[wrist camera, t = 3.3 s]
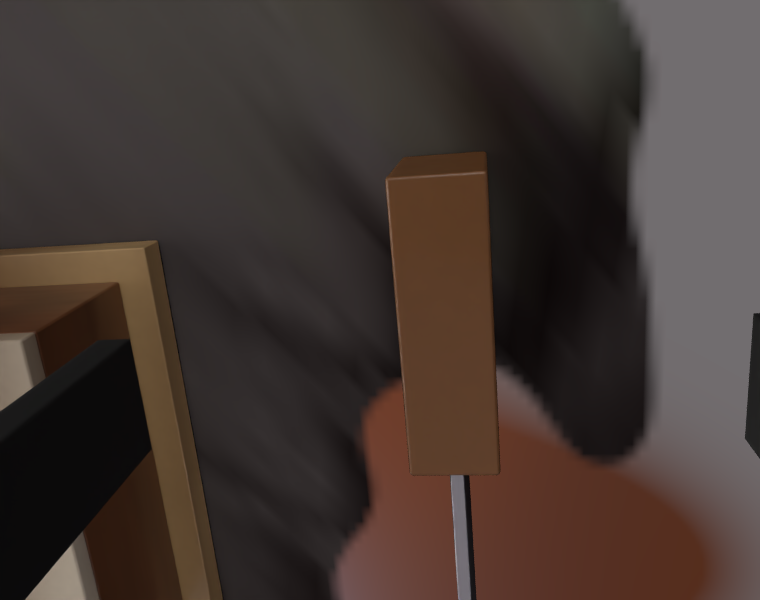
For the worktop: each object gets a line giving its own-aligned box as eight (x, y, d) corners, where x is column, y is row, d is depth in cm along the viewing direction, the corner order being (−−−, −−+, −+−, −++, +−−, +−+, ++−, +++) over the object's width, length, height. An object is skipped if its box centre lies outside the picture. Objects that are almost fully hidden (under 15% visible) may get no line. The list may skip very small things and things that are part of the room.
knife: (401, 156, 21) (384, 177, 17) (486, 150, 20) (487, 170, 17) (448, 766, 28) (443, 878, 24) (513, 770, 27) (518, 883, 24)
